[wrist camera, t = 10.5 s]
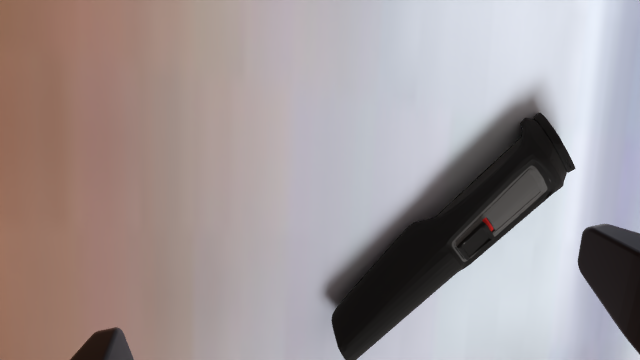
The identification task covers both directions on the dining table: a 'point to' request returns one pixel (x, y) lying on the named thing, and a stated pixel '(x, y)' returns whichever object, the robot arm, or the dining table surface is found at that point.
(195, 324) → the dining table surface
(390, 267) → the electric trimmer
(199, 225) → the dining table surface
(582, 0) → the dining table surface
